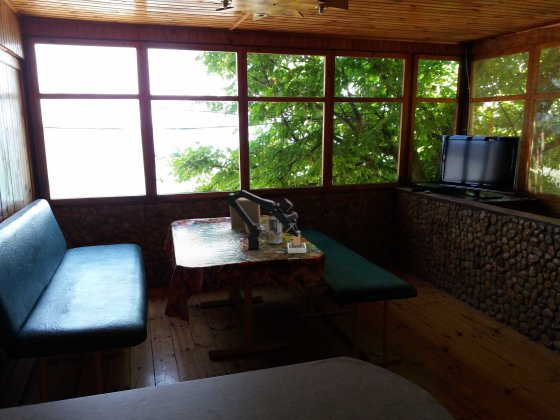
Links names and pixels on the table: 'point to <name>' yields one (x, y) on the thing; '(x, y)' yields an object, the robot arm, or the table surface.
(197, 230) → the table surface
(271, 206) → the robot arm
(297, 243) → the plug
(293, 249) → the socket box
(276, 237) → the coffee box
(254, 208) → the photo frame
